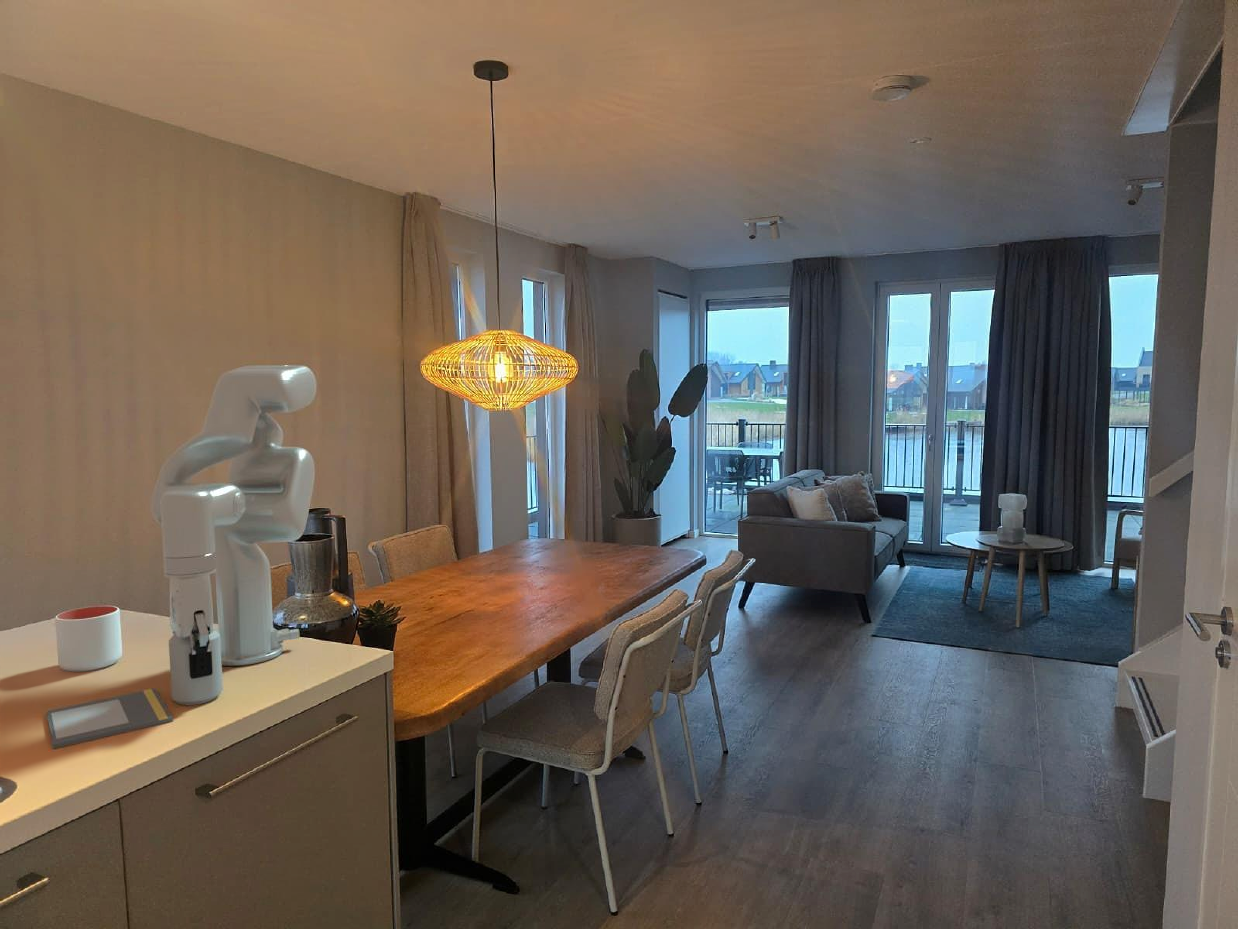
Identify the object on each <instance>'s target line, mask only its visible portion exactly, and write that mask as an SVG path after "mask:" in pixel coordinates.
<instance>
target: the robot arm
mask: <svg viewBox="0 0 1238 929" xmlns="http://www.w3.org/2000/svg"><path fill="white" fill-rule="evenodd" d="M317 385H318V384H317V379H316V376H315V374H314V372H313V371H312V370H311V369H310V368H309V367H308V366H306V365H298V364H297V365H296V364H294V365H293V364H291V365H290V364H289V365H286V364H285V365H276V364H274V365H247V366H246V365H245V366H241V367H237V368H235V369H233V370H229V371H227V372H224V373H223V374H221V376H219V378H218V379H217V382H216V385H215V388H214V391H213V394H212V397H211V400H210V404H209V406H208V410H207V412H206V416H205V419H204V423H203V426H202V429H201V431H200V432H199V433H198V434H196V435H195V436H193V437H192V438H190V439H188V440H187V441H186V442H185V443H183V444H182V445H181V446H180V447H178V448H177V449H176V450H175V451H174V452H173V453H172V454H171V455H170V456H168V458H167V459H166V461H165V462H164V463H163V464H162V466H161V469H160V471H159V474H158V477H157V480H156V483H155V485H154V489H153V493H152V496H151V501H150V502H151V503H150V504H151V506H150V508H151V509H150V510H151V514H152V517H153V518H154V521H156V523H157V524H159V525H160V526H161V537H162V539H161V540H162V554H163V555H162V556H163V572H164V576H163V577H165V578H169V625H170V629H171V631H172V632H173V631H174V632H175V633H176V635H177V636H178V637H179V638H180V639H185V637H187V636H188V637H189V644H190V650H191V654H189V667H190V677H191V678H192V679H195V678H200V677H205V676H209V675H212V673H213V669H212V651H211V645H210V639H209V635H210V634H211V633H212V632H213V625H214V610H213V597H212V585H211V584H212V583H211V574H212V575H213V574H215V589H216V590H215V592H216V595H215V596H216V608H217V609H216V610H217V626H218V627H217V629H218V631H217V632H218V633H219V634H220V645H221V664H222V666H224V667H225V666H226V667H229V666H230V667H231V666H232V667H235V666H246V665H252V664H253V665H254V664H258V663H263V662H265V661H270V660H272V659H274V658H277V657H278V656H280V655H281V654H282V653H283V651H284V648H283V644H282V643H283V642H284V641H291V640H297V639H300V635H301V634H300V630H299V628H294V629H289V628H283V629H279V630H278V629H276V628H275V627H274V622H273V620H274V619H273V618H274V616H273V600H272V597H273V596H272V578H271V577H272V576H271V564H270V561H269V558H268V556H267V555H266V553H265V552H264V550H262V548H261V547H260V546H259V545H258V544H260V543H287V542H288V543H290V542H294V541H297V540H300V538H301V537H302V536H303V534H304V532H305V530H306V526H307V522H308V518H309V511H310V508H311V501H312V497H313V492H314V485H315V477H316V476H315V474H316V471H315V468H316V467H315V461H314V458H313V456H312V455H311V453H310V452H309V451H308V450H307V449H305V448H302V447H301V446H300V447H299V446H298V447H297V446H283V445H282V444H283V440H284V432H283V430H282V427H281V426H280V425H279V423H278V422H277V421H276V420H275V418H273V417H272V416H271V414H286V413H287V414H289V413H294V412H298V411H299V410H302V409H304V408H306V407H308V406H309V405H311V404H312V402H313V401H314V399H315V397H316V394H317V388H318V387H317ZM228 460H229V461H230V462H229V464H228V465H229V466H228V470H227V483H226V482H225V483H223V482H219V483H218V482H217V483H214V482H213V483H205V482H203V483H202V482H201V483H189V482H190V480H192V478H194V477H195V476H196V475H197V474H199V473H201V472H203V471H205V470H206V469H208V468H211V467H212V466H216V465H218V464H221V463H223V462H226V461H228ZM192 632H198V634H192ZM208 632H209V633H208ZM194 639H198V640H196V642H195V643H194Z"/></svg>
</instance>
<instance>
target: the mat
mask: <svg viewBox="0 0 1238 929" xmlns="http://www.w3.org/2000/svg"><path fill="white" fill-rule="evenodd" d="M45 712H46V718H47V724H48V729H49V734H50V738H51V739H50V740H51V744H52V749H59V748H63V747H67V746H71V745H76V744H80V743H85V742H88V741H93V740H97V739H101V738H106V737H110V736H115V735H119V734H123V733H127V732H131V731H135V730H137V731H138V730H140V729H145V728H149V727H153V726H157V725H162V724H166V723H170V722H173V721H174V720H173V716H172V715H171V713H170V711H169V710H168V707H167V706H166V704H165V702H164V701H163V699H162V697H161V695H160V694H159V692H158V691H157V689H156V688H147V689H142V690H140V691H135V692H131V693H130V692H129V693H125V694H120V695H116V696H112V697H111V696H110V697H106V698H102V699H97V700H91V701H87V702H81V703H77V704H73V705H72V704H71V705H67V706H64V707H63V706H62V707H58V708H53V709H48V710H45Z"/></svg>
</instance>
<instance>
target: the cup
mask: <svg viewBox="0 0 1238 929" xmlns="http://www.w3.org/2000/svg"><path fill="white" fill-rule="evenodd" d="M54 620H55V621H54V622H55V636H56V646H57V647H56V649H57V661H58V662H57V664H58V665H59V667H60V668H61V669H62V670H64V671H66V672H74V673H76V672H89V671H90V672H91V671H95V670H99V669H103V668H106V667H109V666H111V665H113V664H116V663H117V662H118V661H119V660H120V659H121V658H122V655H123V645H122V644H123V643H122V629H121V628H122V627H121V612H120V608H119V607H117V606H114V605H98V606H97V605H96V606H86V607H85V606H84V607H80V608H74V609H70V610H67V611H66V610H65V611H64V612H61V613H59V614H57V615H56V616H55V617H54Z"/></svg>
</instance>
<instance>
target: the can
mask: <svg viewBox="0 0 1238 929" xmlns="http://www.w3.org/2000/svg"><path fill="white" fill-rule="evenodd" d="M208 633H209V632H208ZM172 634H173V635H172V636H171V637H170V638H169V639H168V653H169V669H170V670H169V672H170V688H171V697H172V700H174V701H175V702H177V704H179V705H184V706H194V705H195V706H196V705H200V704H204V703H208V702H211V701H213V700H215V699H216V698H217V697H218V696H219V695H220V694H221V693H222V692H223V690H224V687H223V671H222V670H223V667H222V666H223V665H222V664H221V645H220V634H219V632H218V631H217V630H216V625H215V624H213V632H212V633H211V634H210V635H209V639H210V645H211V651H212V669H213V673H212V675H209V676H205V677H200V678H195V679H192V678H191V677H190V667H189V654H191V650H190V644H189V637H188V636H187V637H185V639H180V638H179V637H178V636H177V635H176V633H175V632H174V631H173V630H172ZM192 634H198V632H192ZM196 640H198V639H194V643H195V642H196Z"/></svg>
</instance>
